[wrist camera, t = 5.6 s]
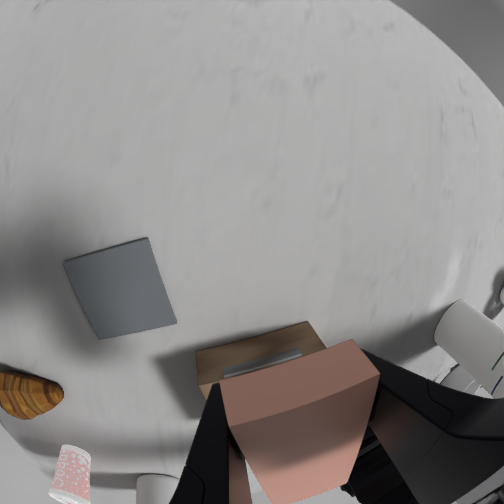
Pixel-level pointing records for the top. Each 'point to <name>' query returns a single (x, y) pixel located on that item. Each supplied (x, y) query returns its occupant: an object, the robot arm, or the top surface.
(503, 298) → the white decorative knot
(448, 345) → the cylindrical container
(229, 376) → the dispenser
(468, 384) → the saucepan
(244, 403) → the salmon pink rectangular block
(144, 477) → the milk bottle
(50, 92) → the top surface
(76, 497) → the beverage cup
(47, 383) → the croissant
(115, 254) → the pad
